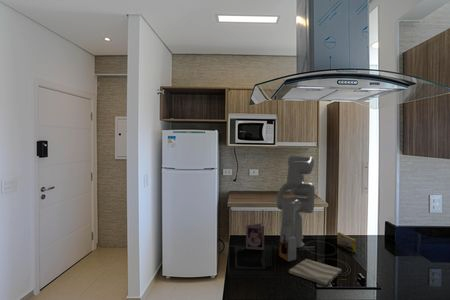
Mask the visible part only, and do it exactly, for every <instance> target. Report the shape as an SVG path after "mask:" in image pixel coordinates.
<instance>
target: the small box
mask: <svg viewBox="0 0 450 300" xmlns="http://www.w3.org/2000/svg"><path fill="white" fill-rule="evenodd" d="M284 241H285V242H286V240H284ZM296 241H297V238H296V237H294V236H293V237H291V238H289V239H288V243H287V246H286V247H287V254H283V253H281V251H282V247H281V243H280V242H279V245H278V246H279V249H278V251H279V252H278V254H279V255H278V256H279V257H280V258H281V259H283V260H285V261H287V262H293V261H296V260H297V248H296ZM284 244H285V243H284Z"/></svg>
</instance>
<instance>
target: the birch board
mask: <svg viewBox="0 0 450 300" xmlns="http://www.w3.org/2000/svg"><path fill="white" fill-rule="evenodd" d="M288 273H289V274H292V275H294V276H296V277H300V278H302V279H306V280H309V281H311V282H314V283H318V284H321V285H324V286H326V287H327V286H328V285H329V284H330V283H332V282H333V281H334V280H335V279H336V277H338V276H339V275H340V274H341V273H342V269H341V268H339V267H336V266H332V265H328V264H326V263H321V262H319V261H314V260H312V259H308V258H305V259H303V260H302V261H300V262H299V263H297V264H295V265H294V266H293V267H291V268H290V269H288Z"/></svg>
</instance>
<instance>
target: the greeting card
mask: <svg viewBox="0 0 450 300" xmlns="http://www.w3.org/2000/svg"><path fill="white" fill-rule="evenodd" d="M245 231H246V232H245V233H246V235H245V250H258V251H259V250H260V251H263V250H265V226H262V223H261V222H260V223H253V224H246V230H245Z"/></svg>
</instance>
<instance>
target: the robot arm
mask: <svg viewBox="0 0 450 300" xmlns="http://www.w3.org/2000/svg"><path fill="white" fill-rule="evenodd" d="M287 164H288V168H287V176H286V182H285V183H284V184H283V185H281V187H280V189H279V190H278V192H277V198H276V208H277V209H278V210H280V211H281V227H280V232H279V233H280V235H279V244H280V243H281V247H282V251H281V253H283V254H287V247H286V246H287V243H288V239H289V238H291V237H293V236H294V237H296V238H297V241H296V249H297V248H303V247H304V246H305V242H303V240H304V238H305V236H304V235H303V217H302V215H301V214H300V213H303V214H312V213H313V212H314V208H315V196H316V195H315V193H316V192H315V189H316V187H315V185H314V184H313V183H312V182H304V181H305V175H310V174H311V173H312V171H313V169H314V166H315V160H314V158H313V156H306V155H305V156H304V155H293V156H292V155H291V156H289V157H288V159H287ZM288 191H290V194H291V195H292V196H293V197H283V196H284V194H285V193H286V192H288ZM294 196H295V197H294ZM304 197H305V198H304ZM284 240H286V242H285V241H284ZM284 243H285V244H284Z"/></svg>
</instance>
